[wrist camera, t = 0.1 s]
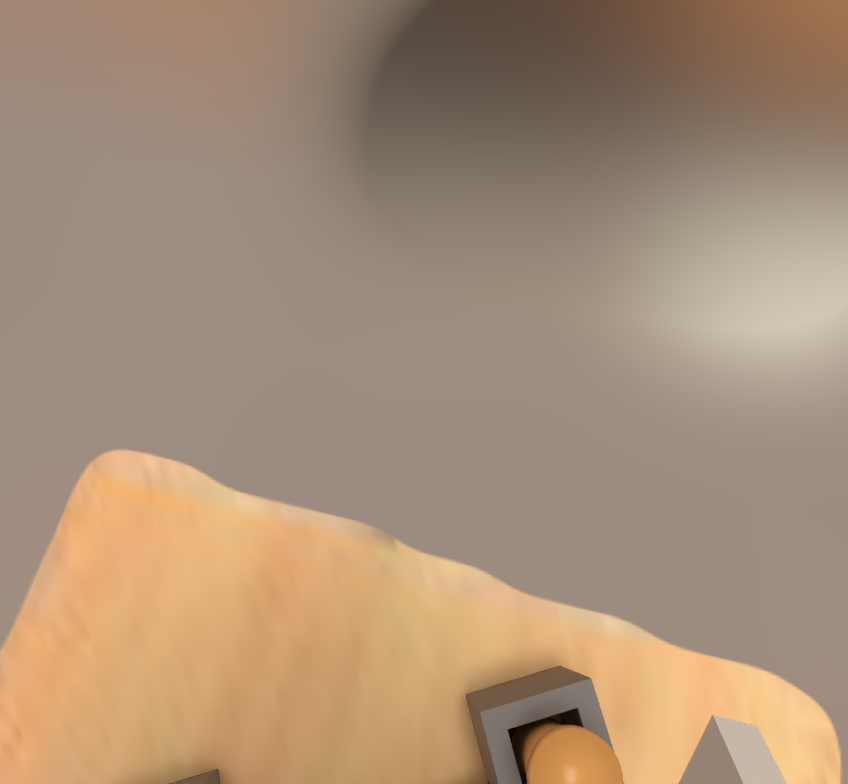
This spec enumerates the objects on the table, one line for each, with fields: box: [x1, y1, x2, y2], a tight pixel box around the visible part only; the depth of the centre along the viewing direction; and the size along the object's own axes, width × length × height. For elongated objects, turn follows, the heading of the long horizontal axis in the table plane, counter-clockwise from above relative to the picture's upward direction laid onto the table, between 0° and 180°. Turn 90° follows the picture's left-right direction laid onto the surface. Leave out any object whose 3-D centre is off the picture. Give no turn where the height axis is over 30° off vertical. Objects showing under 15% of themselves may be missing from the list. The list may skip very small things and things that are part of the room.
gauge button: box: [512, 716, 623, 784], centre depth 36 cm, size 5×5×8 cm
